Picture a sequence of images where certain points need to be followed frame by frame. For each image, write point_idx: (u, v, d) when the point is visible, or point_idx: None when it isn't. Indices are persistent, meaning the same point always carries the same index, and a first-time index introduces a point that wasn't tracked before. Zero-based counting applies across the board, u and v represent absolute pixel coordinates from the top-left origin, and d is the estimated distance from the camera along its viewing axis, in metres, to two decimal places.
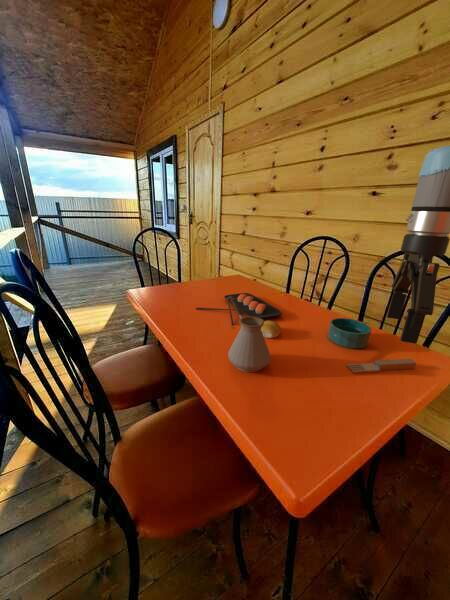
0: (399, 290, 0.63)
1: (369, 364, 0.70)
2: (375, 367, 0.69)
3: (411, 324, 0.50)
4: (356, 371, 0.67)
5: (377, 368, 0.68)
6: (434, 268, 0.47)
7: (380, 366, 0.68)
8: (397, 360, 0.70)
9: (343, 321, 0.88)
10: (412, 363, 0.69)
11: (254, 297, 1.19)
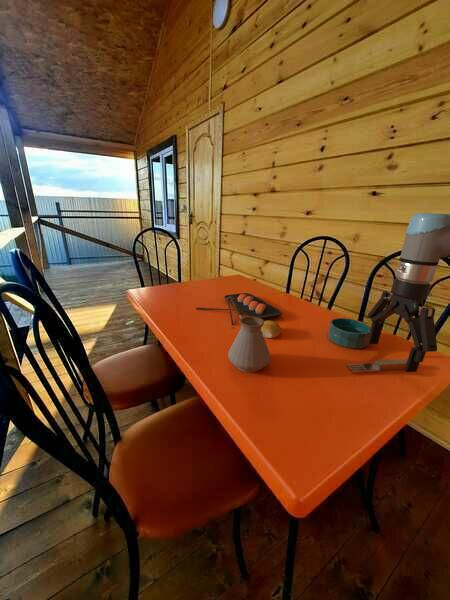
0: (377, 320, 0.73)
1: (369, 364, 0.70)
2: (375, 367, 0.69)
3: (416, 358, 0.60)
4: (356, 371, 0.67)
5: (377, 368, 0.68)
6: (432, 312, 0.57)
7: (380, 366, 0.68)
8: (397, 360, 0.70)
9: (343, 321, 0.88)
10: None
11: (254, 297, 1.19)
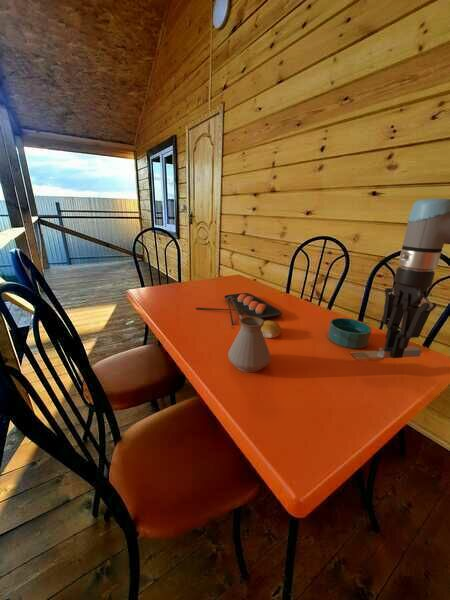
0: (393, 326, 0.68)
1: (373, 352, 0.68)
2: (379, 354, 0.67)
3: (401, 345, 0.65)
4: (360, 358, 0.65)
5: (381, 355, 0.67)
6: (431, 308, 0.57)
7: (385, 354, 0.67)
8: None
9: (343, 321, 0.88)
10: (417, 350, 0.68)
11: (254, 297, 1.19)
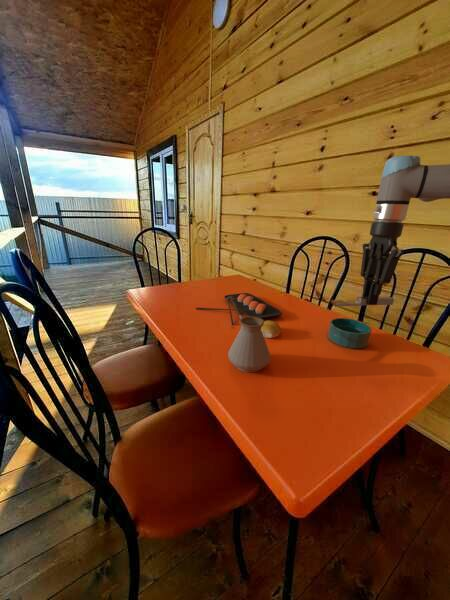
0: (369, 277, 0.76)
1: (351, 300, 0.77)
2: (357, 302, 0.75)
3: (375, 292, 0.73)
4: (339, 304, 0.74)
5: (358, 302, 0.75)
6: (400, 254, 0.66)
7: (361, 301, 0.75)
8: None
9: (343, 321, 0.88)
10: (390, 299, 0.76)
11: (254, 297, 1.19)
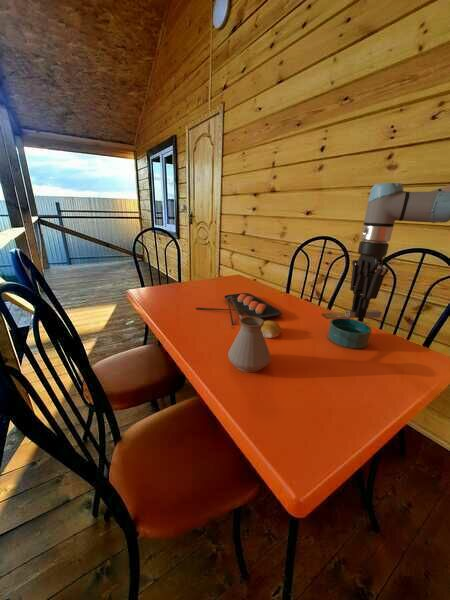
0: (358, 291, 0.81)
1: (341, 313, 0.82)
2: (346, 315, 0.81)
3: (363, 306, 0.78)
4: (329, 317, 0.79)
5: (347, 315, 0.80)
6: (384, 272, 0.71)
7: (350, 314, 0.80)
8: None
9: (343, 321, 0.88)
10: (378, 312, 0.81)
11: (254, 297, 1.19)
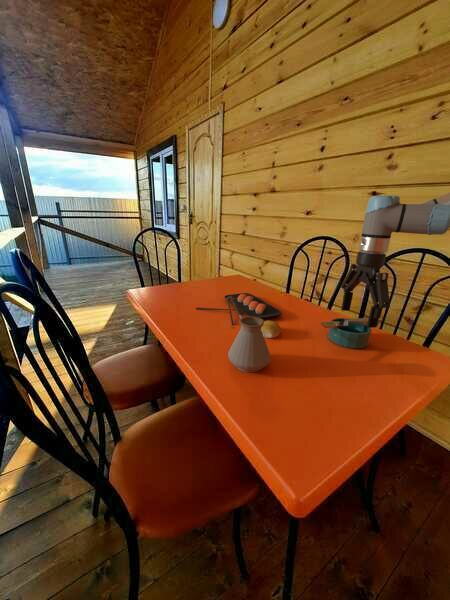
0: (348, 290, 0.86)
1: (340, 322, 0.83)
2: (344, 324, 0.82)
3: (375, 315, 0.73)
4: (328, 326, 0.80)
5: (346, 324, 0.81)
6: (386, 276, 0.71)
7: (349, 323, 0.81)
8: (364, 318, 0.83)
9: (343, 321, 0.88)
10: None
11: (254, 297, 1.19)
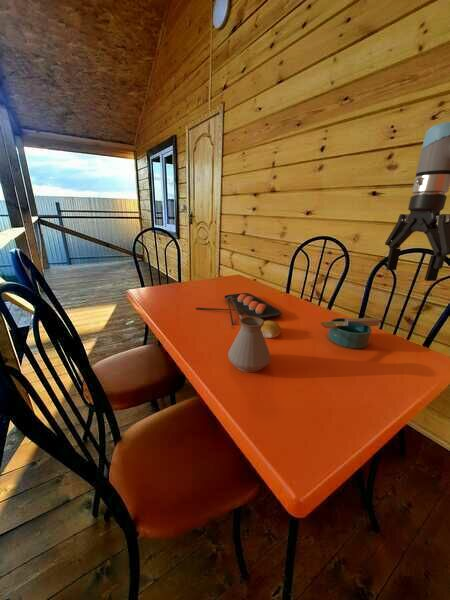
0: (395, 246, 0.77)
1: (340, 322, 0.83)
2: (344, 324, 0.82)
3: (436, 265, 0.64)
4: (328, 326, 0.80)
5: (346, 324, 0.81)
6: (449, 218, 0.61)
7: (349, 323, 0.81)
8: (364, 318, 0.83)
9: (343, 321, 0.88)
10: (376, 321, 0.82)
11: (254, 297, 1.19)
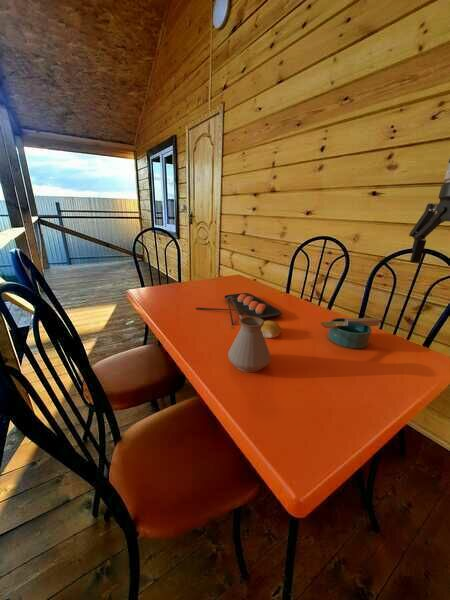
0: (420, 237, 0.74)
1: (340, 322, 0.83)
2: (344, 324, 0.82)
3: None
4: (328, 326, 0.80)
5: (346, 324, 0.81)
6: None
7: (349, 323, 0.81)
8: (364, 318, 0.83)
9: (343, 321, 0.88)
10: (376, 321, 0.82)
11: (254, 297, 1.19)
